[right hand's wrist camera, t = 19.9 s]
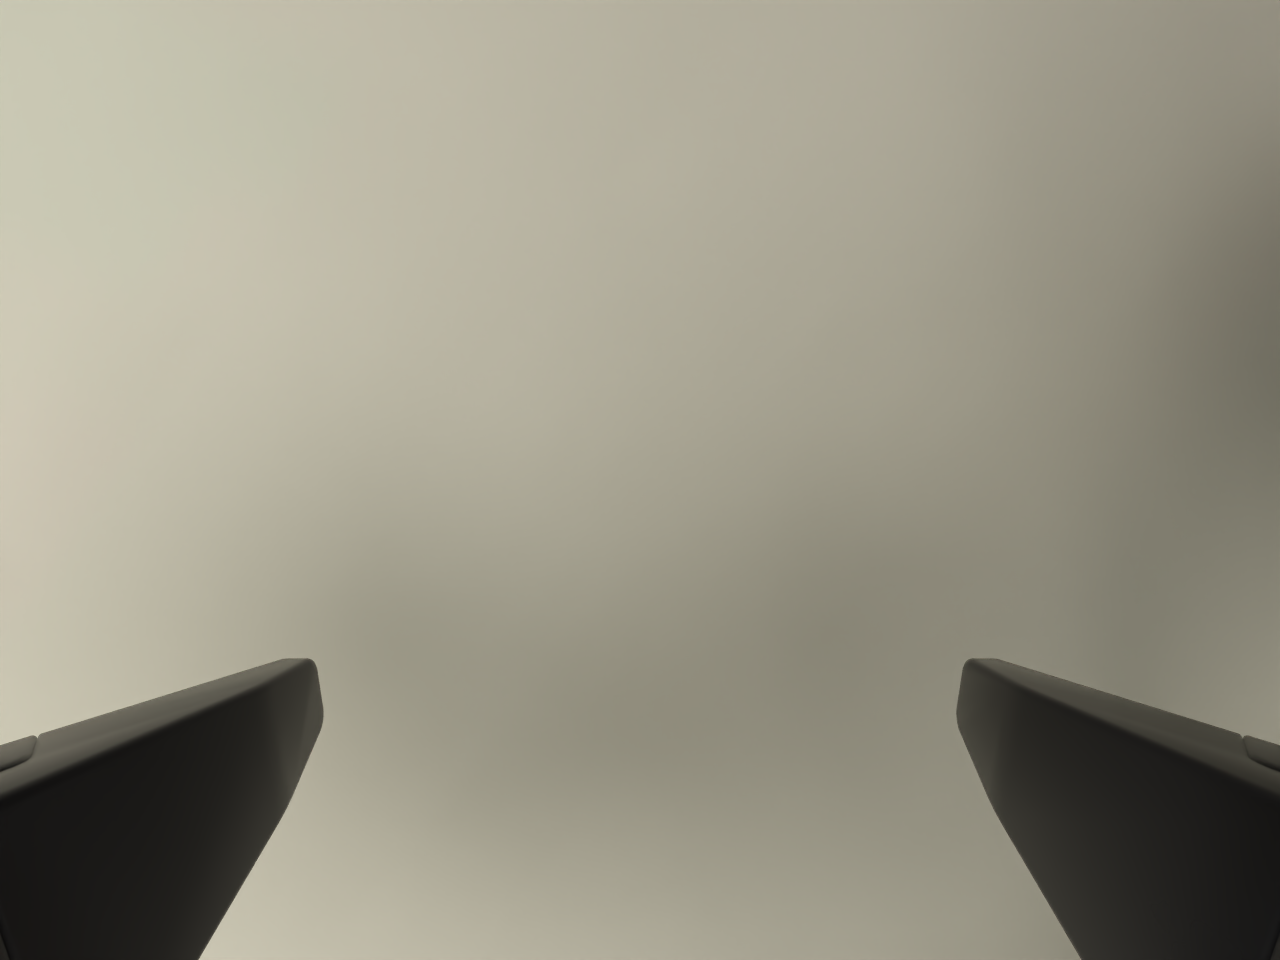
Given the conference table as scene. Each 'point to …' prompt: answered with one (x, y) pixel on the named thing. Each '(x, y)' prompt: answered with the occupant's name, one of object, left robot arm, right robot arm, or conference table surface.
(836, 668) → the conference table surface
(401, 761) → the conference table surface
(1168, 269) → the conference table surface
